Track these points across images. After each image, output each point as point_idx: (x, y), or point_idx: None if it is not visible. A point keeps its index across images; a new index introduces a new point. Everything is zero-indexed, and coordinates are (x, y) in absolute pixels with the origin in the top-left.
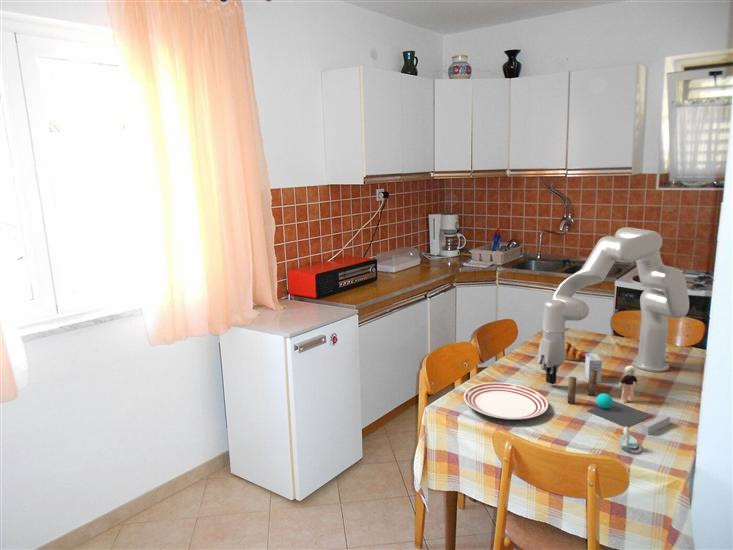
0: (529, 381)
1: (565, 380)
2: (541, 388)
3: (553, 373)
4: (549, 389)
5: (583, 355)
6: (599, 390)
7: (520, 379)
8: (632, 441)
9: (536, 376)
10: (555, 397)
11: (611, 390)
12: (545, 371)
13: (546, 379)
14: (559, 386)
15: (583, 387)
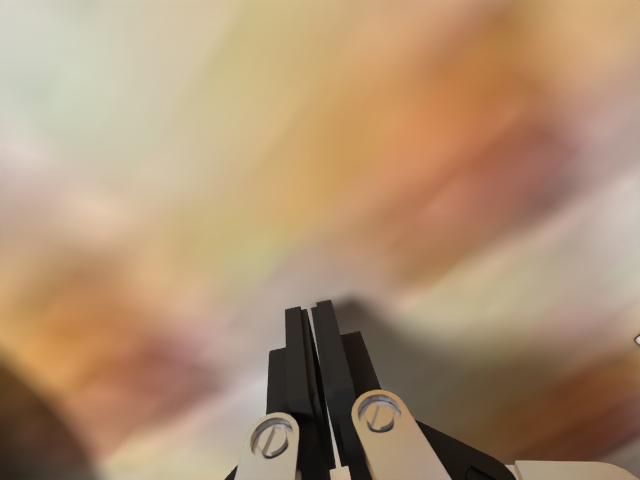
0: (188, 131)
1: (526, 257)
2: (206, 319)
3: (328, 471)
4: (260, 354)
5: None
6: (546, 450)
7: (105, 16)
8: None
9: (367, 33)
10: (210, 462)
11: None
12: (248, 435)
13: (287, 327)
14: (380, 334)
15: (511, 396)
